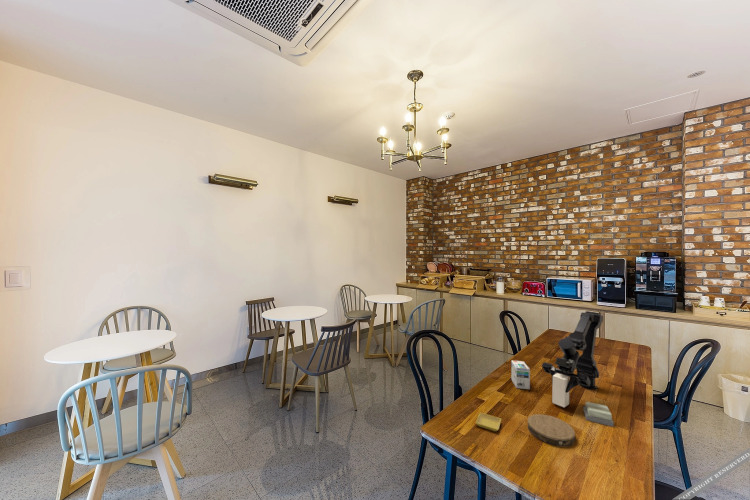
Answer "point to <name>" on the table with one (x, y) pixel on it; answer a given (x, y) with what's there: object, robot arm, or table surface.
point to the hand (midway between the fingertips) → (559, 389)
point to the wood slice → (551, 430)
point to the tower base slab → (597, 419)
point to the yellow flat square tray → (488, 422)
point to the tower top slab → (598, 411)
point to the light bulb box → (520, 374)
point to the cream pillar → (560, 390)
